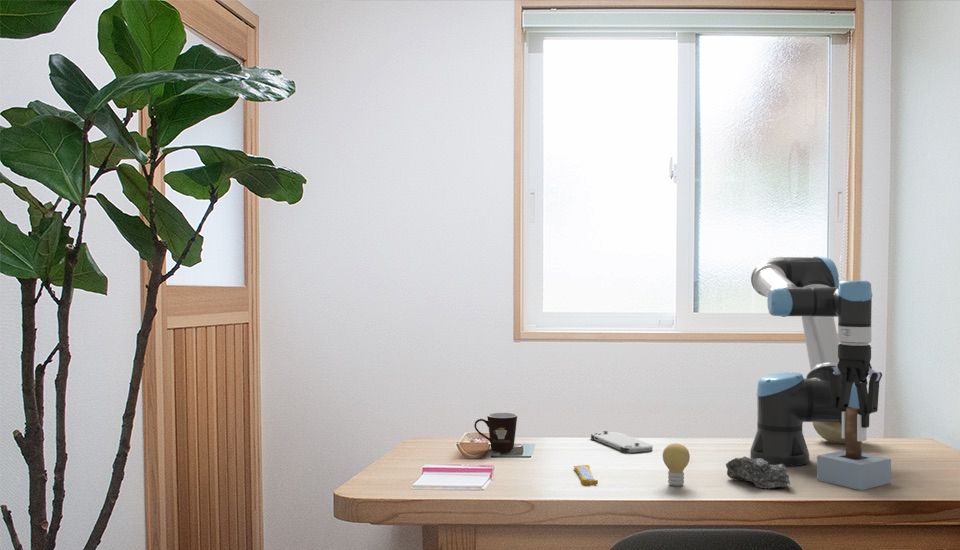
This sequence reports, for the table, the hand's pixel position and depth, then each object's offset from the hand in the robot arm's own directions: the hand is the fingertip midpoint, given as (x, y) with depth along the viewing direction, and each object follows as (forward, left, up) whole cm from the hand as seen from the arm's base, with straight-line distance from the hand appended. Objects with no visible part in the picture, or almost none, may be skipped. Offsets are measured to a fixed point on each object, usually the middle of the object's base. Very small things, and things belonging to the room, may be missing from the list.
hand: (853, 439), depth 217 cm
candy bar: (-61, -22, -11) cm, 66 cm away
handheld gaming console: (-63, +19, -11) cm, 67 cm away
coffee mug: (-94, -2, -11) cm, 95 cm away
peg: (0, 0, -4) cm, 4 cm away
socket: (0, 0, -10) cm, 10 cm away
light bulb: (-39, -21, -11) cm, 46 cm away
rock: (-21, -11, -11) cm, 26 cm away
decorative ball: (-5, +47, -11) cm, 48 cm away
